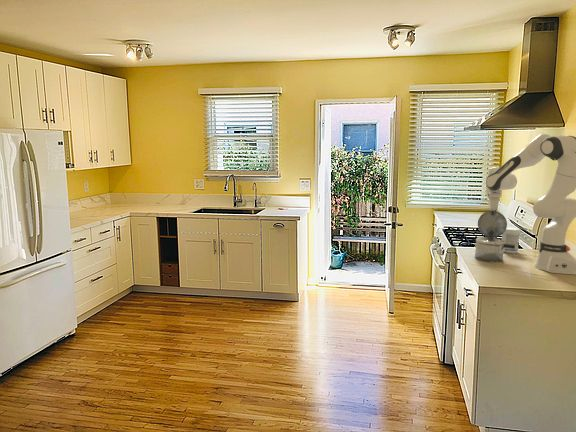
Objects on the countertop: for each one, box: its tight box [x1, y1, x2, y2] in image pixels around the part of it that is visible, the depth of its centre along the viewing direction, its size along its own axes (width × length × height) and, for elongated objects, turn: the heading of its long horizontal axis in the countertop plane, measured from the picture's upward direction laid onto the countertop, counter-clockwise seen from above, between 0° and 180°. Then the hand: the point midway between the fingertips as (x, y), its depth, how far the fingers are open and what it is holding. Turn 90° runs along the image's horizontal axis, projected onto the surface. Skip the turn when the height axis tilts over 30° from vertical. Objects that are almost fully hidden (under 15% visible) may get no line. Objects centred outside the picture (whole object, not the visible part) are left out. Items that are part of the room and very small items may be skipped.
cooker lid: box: [477, 210, 508, 238], centre depth 278 cm, size 16×16×3 cm
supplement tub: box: [501, 226, 520, 254], centre depth 288 cm, size 10×10×15 cm
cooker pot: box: [474, 236, 515, 263], centre depth 269 cm, size 21×16×11 cm
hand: (491, 215), depth 288 cm, fingers closed
